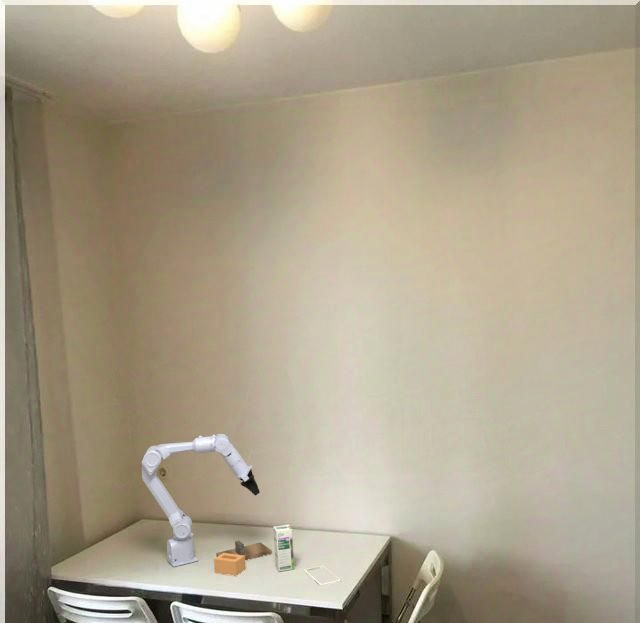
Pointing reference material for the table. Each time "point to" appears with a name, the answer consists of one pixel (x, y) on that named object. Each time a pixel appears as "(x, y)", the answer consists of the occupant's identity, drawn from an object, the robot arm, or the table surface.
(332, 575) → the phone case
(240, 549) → the brown piece
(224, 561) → the collar
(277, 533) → the syrup box
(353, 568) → the table surface
